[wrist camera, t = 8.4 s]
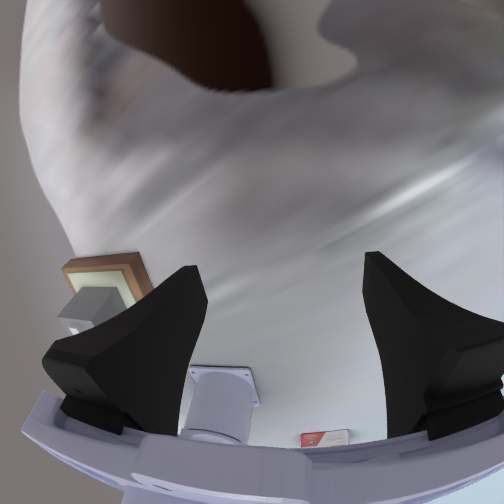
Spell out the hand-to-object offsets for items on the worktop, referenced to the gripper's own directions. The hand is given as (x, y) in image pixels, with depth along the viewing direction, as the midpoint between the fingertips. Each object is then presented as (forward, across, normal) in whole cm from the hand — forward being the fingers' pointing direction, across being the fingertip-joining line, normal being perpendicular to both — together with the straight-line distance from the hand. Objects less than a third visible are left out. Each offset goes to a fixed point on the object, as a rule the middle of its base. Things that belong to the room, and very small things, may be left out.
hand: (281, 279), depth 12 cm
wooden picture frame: (+10, +19, +10) cm, 24 cm away
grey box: (+8, +19, +10) cm, 23 cm away
